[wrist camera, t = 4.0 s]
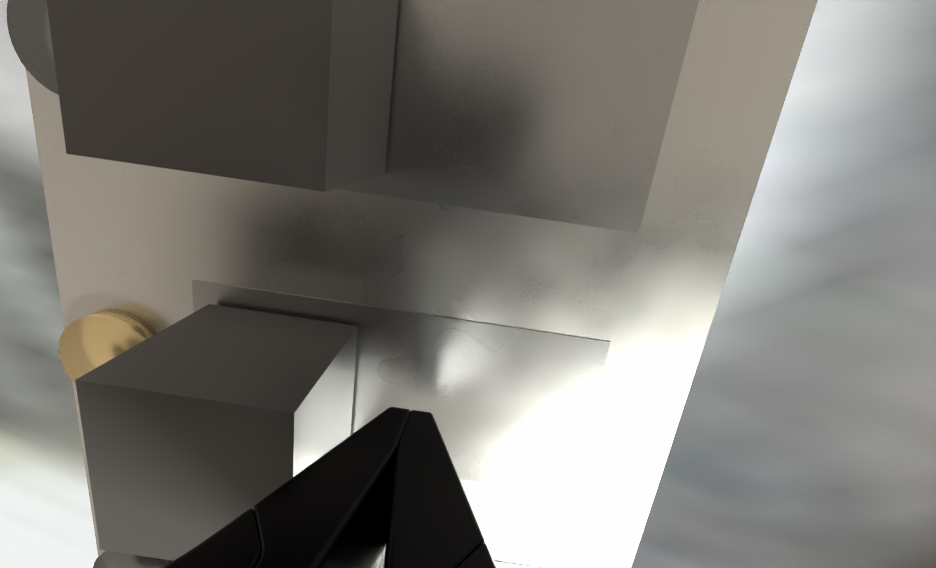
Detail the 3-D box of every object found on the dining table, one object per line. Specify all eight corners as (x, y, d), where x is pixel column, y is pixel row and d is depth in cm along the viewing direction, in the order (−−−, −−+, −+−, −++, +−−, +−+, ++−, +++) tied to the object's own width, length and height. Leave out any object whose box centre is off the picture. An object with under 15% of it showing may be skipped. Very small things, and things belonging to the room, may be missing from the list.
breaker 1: (400, -20, 7) (336, -130, 4) (384, 173, 8) (324, 192, 5) (212, -47, 7) (23, -174, 4) (219, 150, 8) (65, 153, 5)
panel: (781, -85, 8) (891, -172, 6) (563, 659, 14) (577, 756, 12) (92, -183, 8) (-59, -304, 6) (164, 597, 14) (103, 682, 12)
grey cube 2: (358, 326, 9) (294, 412, 6) (349, 451, 10) (290, 578, 7) (208, 304, 9) (74, 379, 6) (214, 431, 10) (100, 549, 7)
